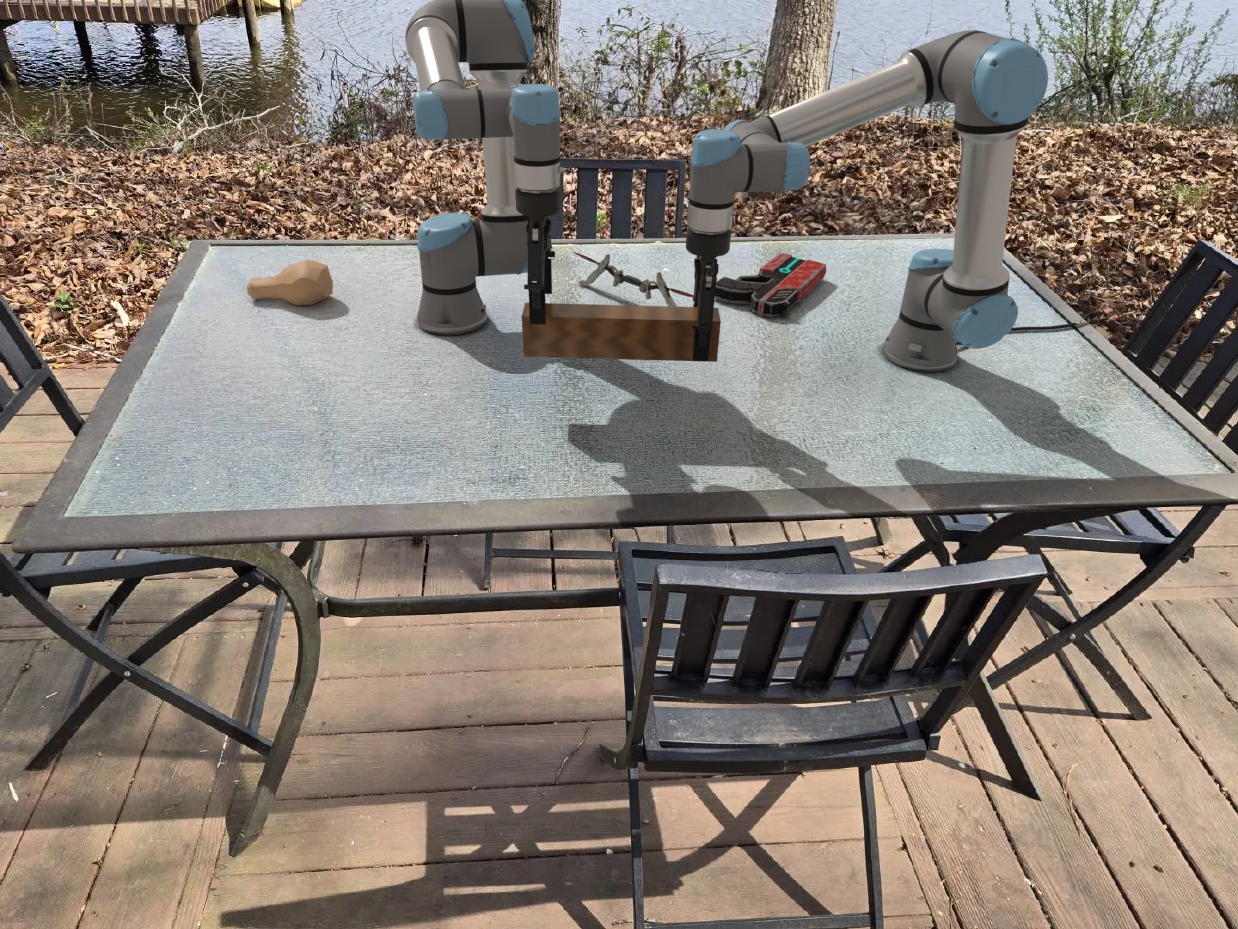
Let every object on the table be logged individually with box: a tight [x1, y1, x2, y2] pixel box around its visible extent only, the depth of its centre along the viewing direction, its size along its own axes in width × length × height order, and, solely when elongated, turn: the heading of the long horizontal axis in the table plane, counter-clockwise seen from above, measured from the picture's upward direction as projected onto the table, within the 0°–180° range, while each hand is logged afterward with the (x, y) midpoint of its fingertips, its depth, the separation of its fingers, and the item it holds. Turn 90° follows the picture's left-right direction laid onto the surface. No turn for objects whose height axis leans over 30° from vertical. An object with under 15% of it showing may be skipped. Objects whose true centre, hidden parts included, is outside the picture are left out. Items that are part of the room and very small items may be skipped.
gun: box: [714, 252, 827, 318], centre depth 215 cm, size 4×31×19 cm
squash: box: [246, 259, 334, 306], centre depth 203 cm, size 11×20×9 cm, turn 90°
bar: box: [521, 302, 722, 363], centre depth 159 cm, size 35×6×8 cm, turn 89°
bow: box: [573, 251, 694, 307], centre depth 205 cm, size 39×2×10 cm, turn 47°
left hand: (541, 308), depth 156 cm, fingers open, 13 cm apart
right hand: (699, 351), depth 161 cm, fingers closed on bar, 6 cm apart
